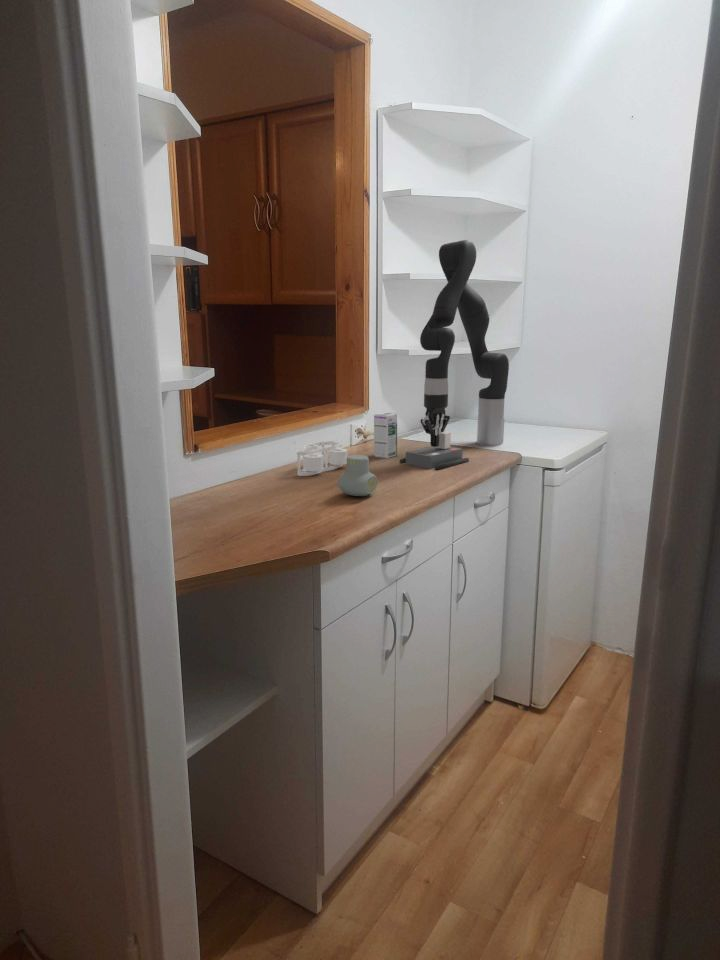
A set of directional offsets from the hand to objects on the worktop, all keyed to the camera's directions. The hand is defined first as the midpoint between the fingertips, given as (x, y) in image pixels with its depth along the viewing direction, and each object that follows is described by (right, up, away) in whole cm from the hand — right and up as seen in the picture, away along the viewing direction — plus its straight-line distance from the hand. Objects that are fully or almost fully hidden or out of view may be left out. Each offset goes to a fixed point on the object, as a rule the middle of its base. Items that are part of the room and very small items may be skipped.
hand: (434, 446), depth 218 cm
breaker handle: (+3, 0, +3) cm, 4 cm away
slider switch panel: (0, -5, +1) cm, 5 cm away
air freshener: (-25, -15, -37) cm, 47 cm away
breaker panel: (0, -5, +1) cm, 5 cm away
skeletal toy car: (-36, -8, -8) cm, 38 cm away
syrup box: (-16, -3, +11) cm, 19 cm away
